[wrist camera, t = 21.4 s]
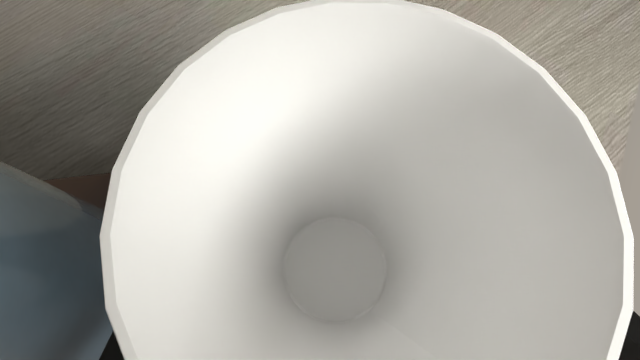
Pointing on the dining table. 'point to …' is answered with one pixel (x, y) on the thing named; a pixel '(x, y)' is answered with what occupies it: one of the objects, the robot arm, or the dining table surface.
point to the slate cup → (49, 272)
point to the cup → (365, 200)
